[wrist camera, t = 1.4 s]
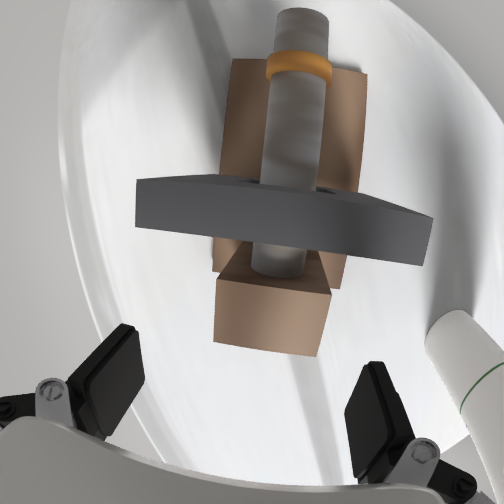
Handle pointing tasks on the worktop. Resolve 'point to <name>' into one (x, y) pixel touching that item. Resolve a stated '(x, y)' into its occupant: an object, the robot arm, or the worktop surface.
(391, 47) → the worktop surface
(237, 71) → the pipe mount
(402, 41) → the worktop surface
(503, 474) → the cylindrical container
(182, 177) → the dark grey square plate
